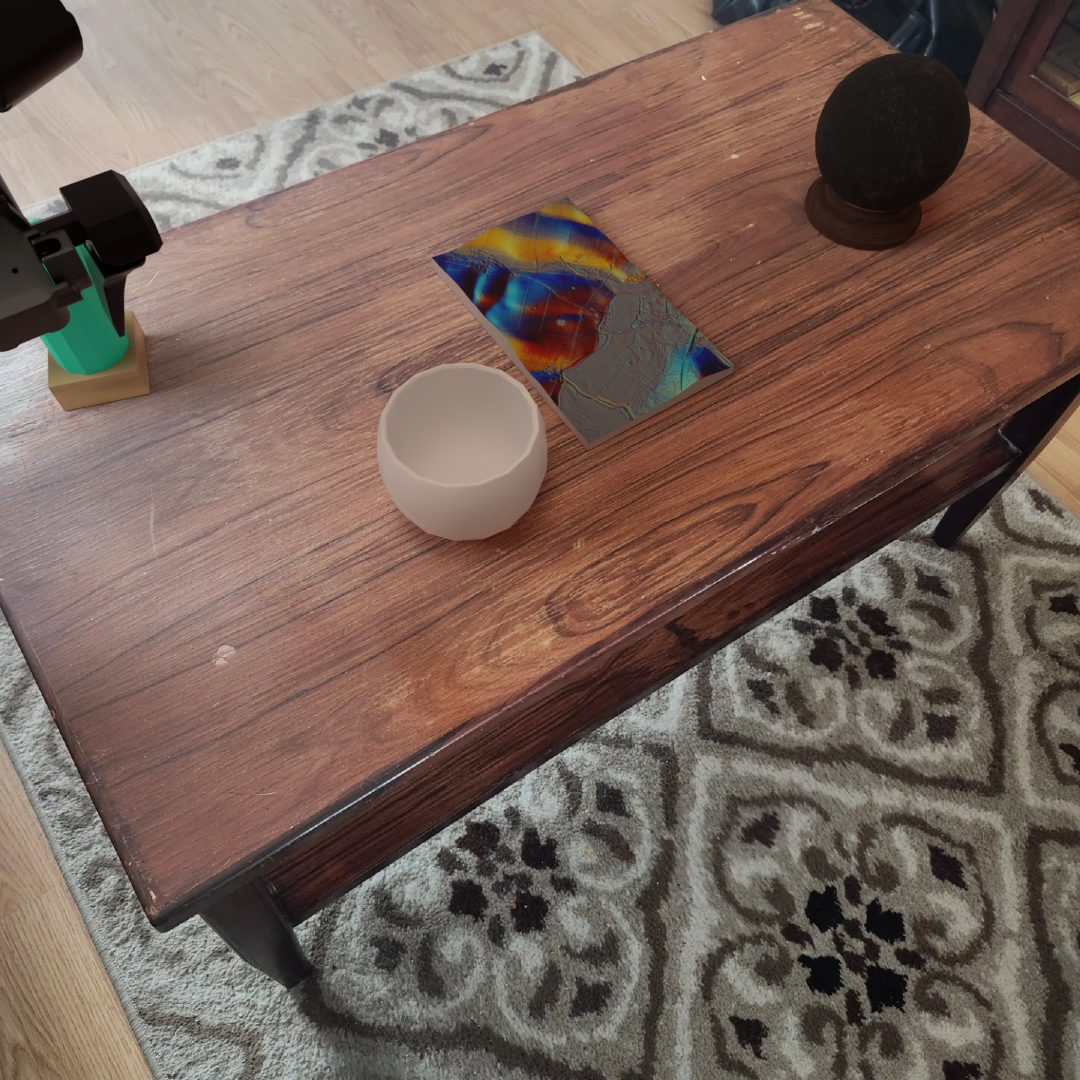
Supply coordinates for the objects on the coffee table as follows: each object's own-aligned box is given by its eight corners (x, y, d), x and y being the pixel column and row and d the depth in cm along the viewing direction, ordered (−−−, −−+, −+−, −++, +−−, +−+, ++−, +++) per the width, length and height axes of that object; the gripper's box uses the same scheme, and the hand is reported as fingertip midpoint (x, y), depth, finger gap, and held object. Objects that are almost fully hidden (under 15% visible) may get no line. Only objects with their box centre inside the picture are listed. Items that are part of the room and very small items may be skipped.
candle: (61, 323, 77) (-12, 205, 66) (134, 318, 77) (72, 200, 67) (49, 377, 74) (-30, 262, 63) (124, 372, 74) (58, 256, 64)
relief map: (732, 373, 78) (736, 357, 77) (588, 450, 74) (589, 435, 72) (567, 208, 89) (567, 191, 88) (432, 267, 85) (430, 250, 83)
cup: (495, 593, 67) (490, 524, 59) (358, 523, 70) (335, 448, 62) (573, 475, 73) (579, 396, 64) (443, 415, 76) (433, 332, 67)
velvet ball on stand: (931, 180, 92) (996, 33, 79) (927, 268, 85) (997, 123, 73) (801, 159, 94) (844, 11, 81) (787, 243, 87) (831, 97, 74)
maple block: (62, 351, 79) (47, 326, 76) (145, 335, 80) (132, 310, 78) (64, 411, 76) (47, 387, 73) (150, 393, 77) (137, 369, 74)
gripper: (-233, 316, 42) (-52, 505, 55) (151, 176, 48) (232, 377, 61) (-277, 187, 47) (-101, 389, 60) (78, 74, 53) (167, 281, 66)
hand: (54, 360), depth 62 cm, fingers open, 9 cm apart
